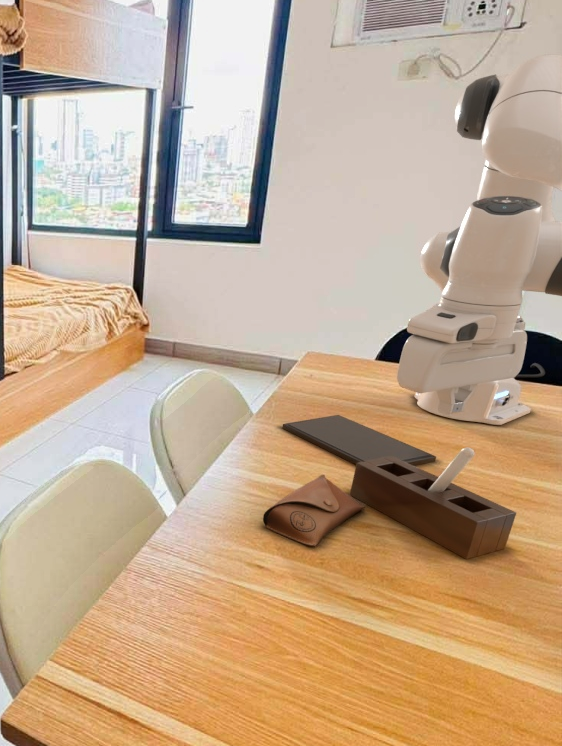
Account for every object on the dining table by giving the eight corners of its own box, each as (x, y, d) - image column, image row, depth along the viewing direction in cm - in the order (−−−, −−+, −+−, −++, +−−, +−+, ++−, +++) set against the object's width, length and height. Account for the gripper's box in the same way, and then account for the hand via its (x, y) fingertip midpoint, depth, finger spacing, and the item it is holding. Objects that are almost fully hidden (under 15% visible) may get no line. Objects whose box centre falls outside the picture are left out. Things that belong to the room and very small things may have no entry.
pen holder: (384, 487, 108) (392, 455, 105) (505, 548, 90) (517, 512, 88) (349, 494, 105) (356, 462, 103) (466, 559, 88) (477, 522, 86)
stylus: (417, 511, 100) (473, 445, 90) (422, 519, 98) (479, 453, 89) (407, 510, 100) (462, 444, 90) (411, 518, 98) (468, 452, 89)
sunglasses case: (318, 547, 90) (300, 503, 91) (273, 550, 96) (257, 508, 96) (368, 506, 101) (352, 467, 101) (325, 511, 106) (310, 473, 107)
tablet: (337, 418, 136) (338, 414, 136) (435, 461, 116) (436, 455, 116) (281, 428, 132) (282, 423, 131) (374, 473, 112) (375, 468, 112)
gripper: (503, 308, 93) (478, 396, 97) (399, 321, 87) (378, 413, 91) (551, 318, 87) (522, 410, 92) (443, 332, 81) (419, 430, 86)
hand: (449, 412), depth 92 cm, fingers closed
